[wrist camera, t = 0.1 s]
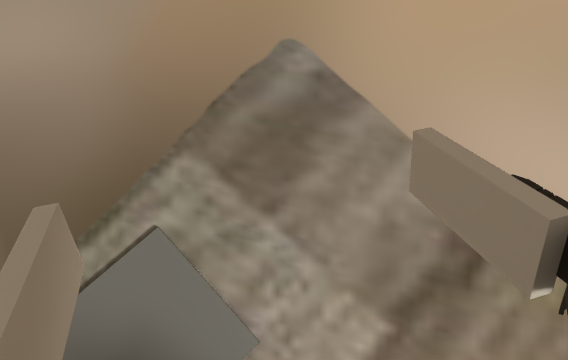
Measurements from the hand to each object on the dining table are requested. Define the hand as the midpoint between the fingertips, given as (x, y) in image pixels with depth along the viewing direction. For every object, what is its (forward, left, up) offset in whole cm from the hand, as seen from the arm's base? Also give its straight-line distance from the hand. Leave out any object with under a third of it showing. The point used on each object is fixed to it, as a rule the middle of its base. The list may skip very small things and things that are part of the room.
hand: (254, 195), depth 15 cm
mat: (-3, +16, -36) cm, 39 cm away
